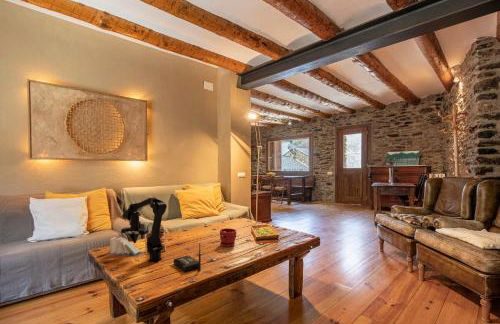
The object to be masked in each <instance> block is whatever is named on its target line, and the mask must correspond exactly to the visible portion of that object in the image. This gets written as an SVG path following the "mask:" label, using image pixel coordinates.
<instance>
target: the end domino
mask: <svg viewBox="0 0 500 324" xmlns="http://www.w3.org/2000/svg"><path fill="white" fill-rule="evenodd" d="M116 239H118V238H117V236H114V237H112V238H110V239H109V252H110V253H113V252H115V251H116Z"/></svg>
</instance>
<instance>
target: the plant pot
mask: <svg viewBox="0 0 500 324" xmlns="http://www.w3.org/2000/svg"><path fill="white" fill-rule="evenodd" d="M219 238H220V245H221V246H222V247H233V246H234V245H235V244H236V242H235V241H236V238H237V230H236V229H234V228H222V229H220V230H219Z"/></svg>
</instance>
